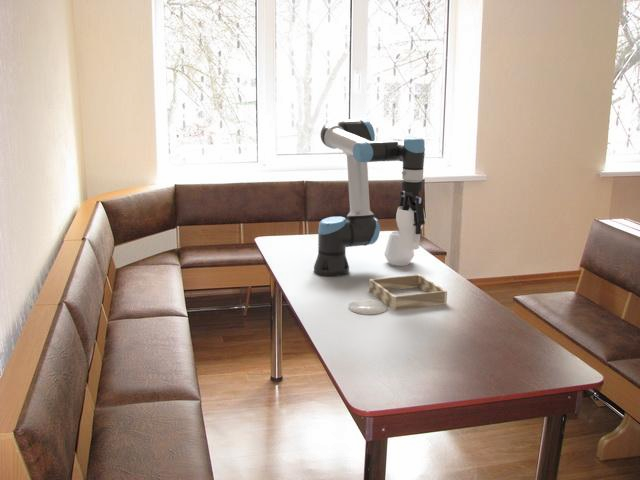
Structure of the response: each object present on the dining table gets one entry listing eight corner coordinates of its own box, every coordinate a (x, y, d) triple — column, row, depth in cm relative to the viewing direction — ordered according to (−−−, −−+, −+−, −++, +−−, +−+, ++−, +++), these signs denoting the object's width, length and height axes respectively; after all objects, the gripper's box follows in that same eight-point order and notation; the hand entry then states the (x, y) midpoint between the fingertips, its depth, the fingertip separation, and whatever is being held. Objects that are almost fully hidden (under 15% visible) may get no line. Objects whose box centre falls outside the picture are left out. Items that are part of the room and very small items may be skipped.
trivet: (342, 303, 248) (342, 302, 248) (377, 299, 252) (377, 298, 252) (357, 316, 235) (357, 314, 235) (393, 312, 240) (393, 310, 239)
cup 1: (422, 252, 244) (424, 212, 241) (393, 250, 246) (395, 210, 243) (423, 244, 255) (426, 206, 251) (396, 242, 257) (397, 204, 253)
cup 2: (418, 261, 303) (420, 232, 300) (405, 268, 292) (407, 238, 289) (392, 257, 310) (393, 228, 307) (378, 263, 299) (379, 233, 296)
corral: (369, 291, 262) (369, 279, 260) (418, 286, 269) (419, 274, 268) (393, 310, 242) (393, 297, 240) (446, 304, 249) (447, 291, 248)
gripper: (389, 175, 253) (387, 231, 259) (417, 186, 232) (414, 247, 238) (407, 174, 256) (404, 230, 261) (436, 185, 235) (433, 245, 240)
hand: (409, 238), depth 250 cm, fingers closed on cup 1, 11 cm apart
